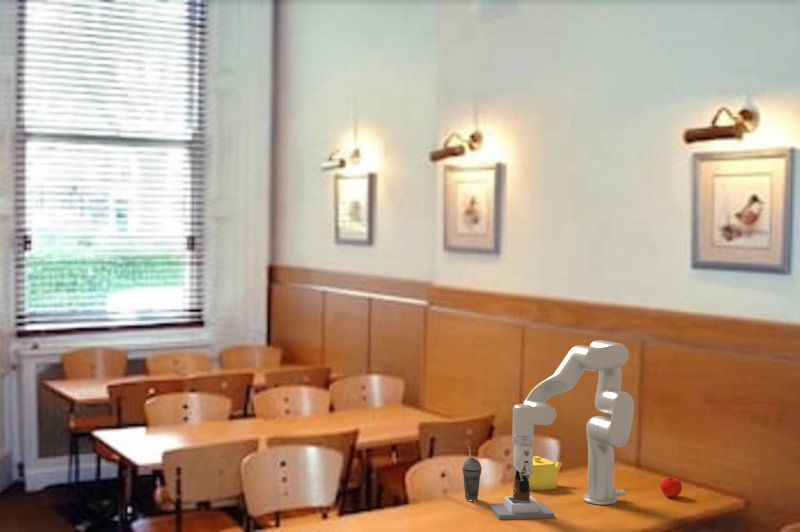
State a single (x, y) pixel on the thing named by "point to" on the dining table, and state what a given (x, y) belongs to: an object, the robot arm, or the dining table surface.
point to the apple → (671, 487)
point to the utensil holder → (516, 491)
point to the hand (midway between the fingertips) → (521, 489)
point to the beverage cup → (471, 477)
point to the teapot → (543, 474)
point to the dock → (521, 509)
